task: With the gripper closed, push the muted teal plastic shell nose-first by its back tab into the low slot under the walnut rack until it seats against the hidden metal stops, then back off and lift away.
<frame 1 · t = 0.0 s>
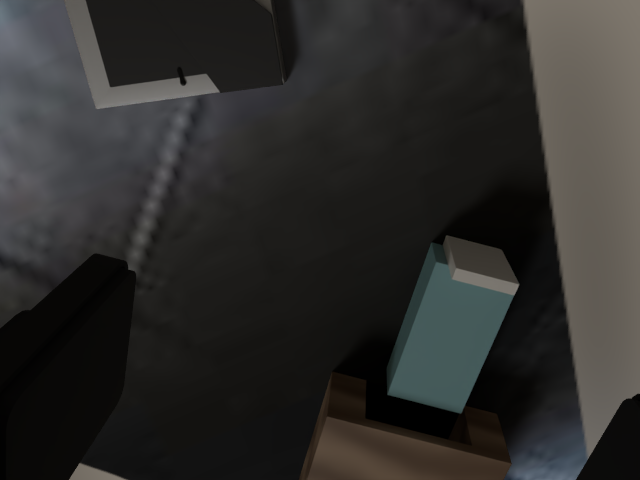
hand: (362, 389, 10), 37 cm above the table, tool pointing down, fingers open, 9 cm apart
walnut rack: (391, 451, 58), on the table
teal shell: (444, 318, 51), on the table
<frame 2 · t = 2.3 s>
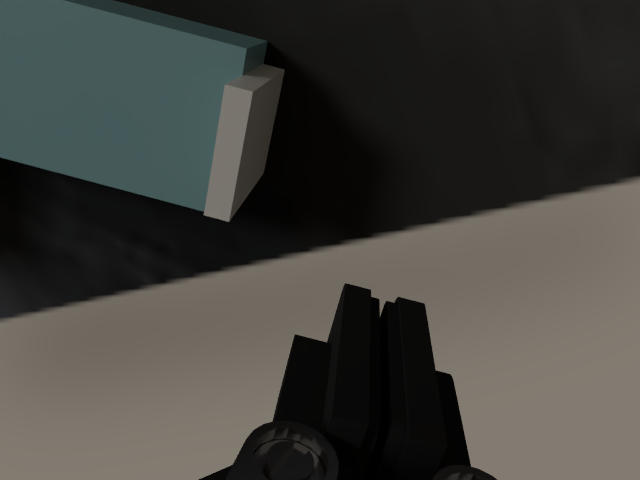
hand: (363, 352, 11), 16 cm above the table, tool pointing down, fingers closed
teal shell: (109, 79, 26), on the table
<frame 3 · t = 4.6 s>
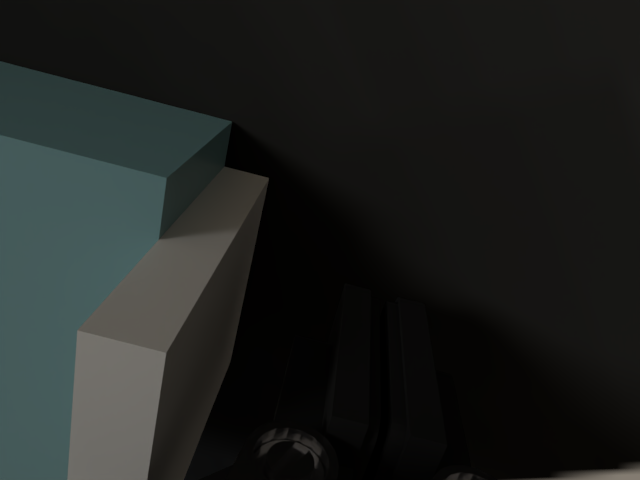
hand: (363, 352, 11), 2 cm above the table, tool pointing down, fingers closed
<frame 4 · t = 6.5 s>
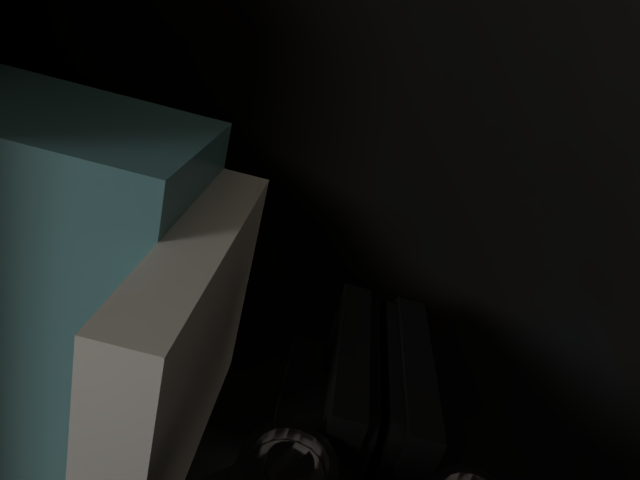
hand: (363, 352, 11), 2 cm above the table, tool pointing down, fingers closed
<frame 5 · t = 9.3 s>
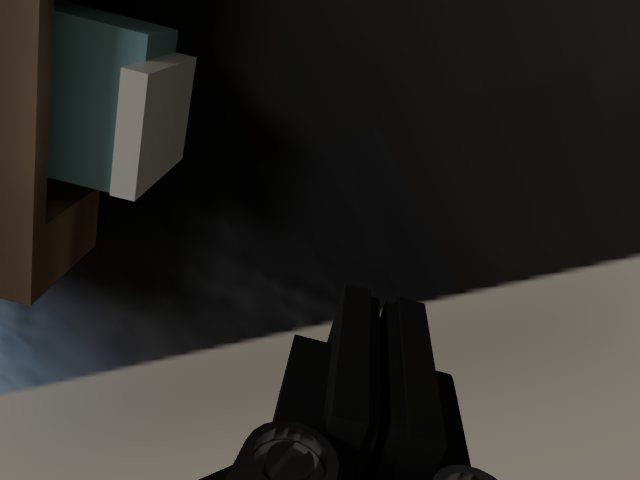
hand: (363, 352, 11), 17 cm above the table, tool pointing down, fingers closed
teal shell: (26, 68, 27), on the table
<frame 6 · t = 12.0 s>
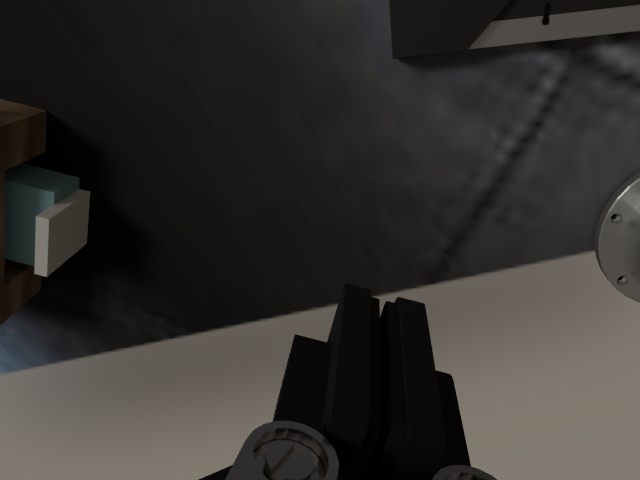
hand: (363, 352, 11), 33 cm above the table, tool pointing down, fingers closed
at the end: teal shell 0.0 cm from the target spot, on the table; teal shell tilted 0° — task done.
